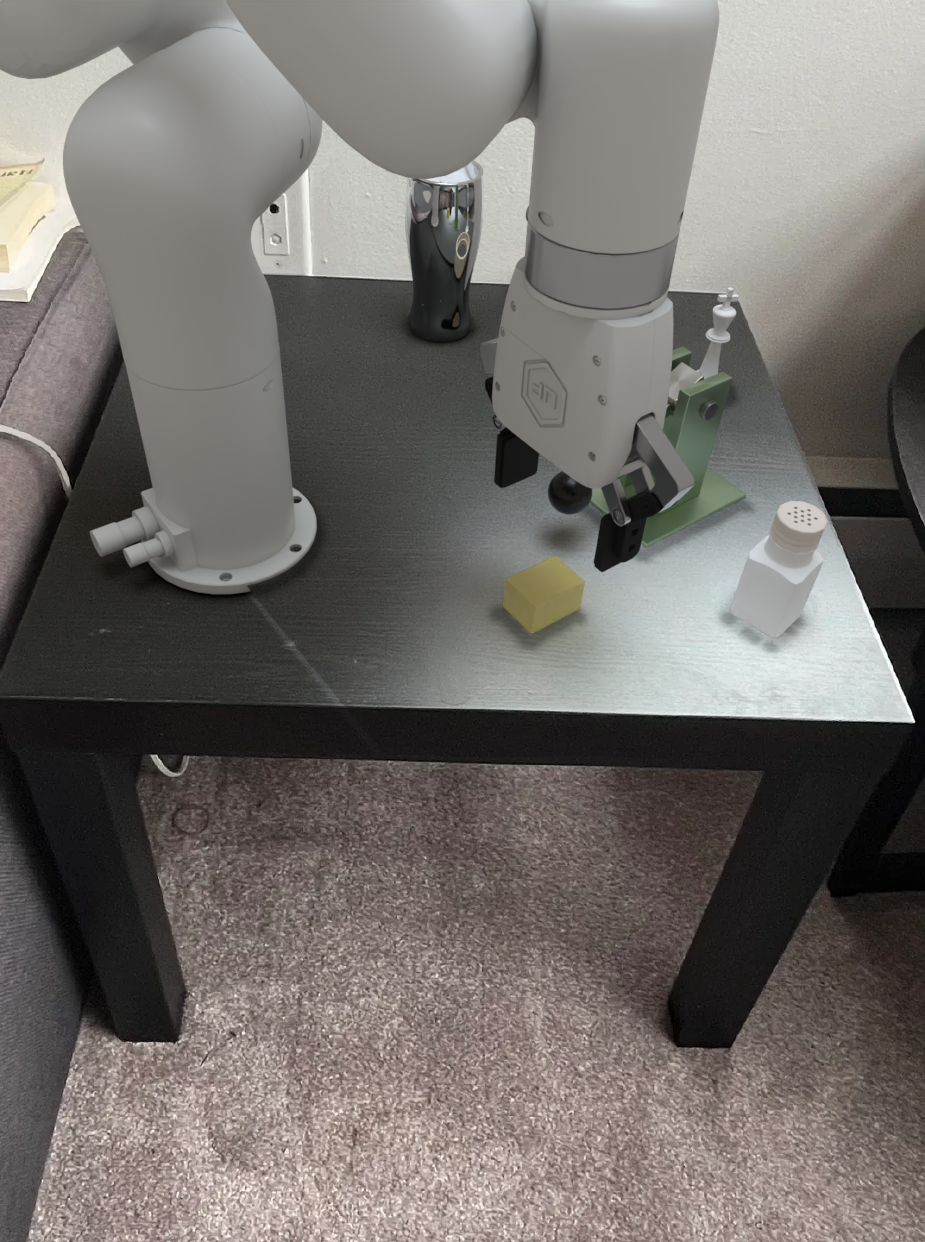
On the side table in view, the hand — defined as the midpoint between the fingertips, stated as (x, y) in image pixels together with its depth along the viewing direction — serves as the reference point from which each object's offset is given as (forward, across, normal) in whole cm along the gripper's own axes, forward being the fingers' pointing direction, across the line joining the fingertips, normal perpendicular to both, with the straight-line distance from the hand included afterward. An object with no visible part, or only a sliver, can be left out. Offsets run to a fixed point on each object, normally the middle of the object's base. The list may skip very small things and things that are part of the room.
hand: (563, 518), depth 62 cm
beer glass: (+9, -37, +17) cm, 41 cm away
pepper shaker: (+10, +8, +13) cm, 18 cm away
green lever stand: (+9, -6, +16) cm, 19 cm away
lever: (+3, -5, +11) cm, 13 cm away
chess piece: (+9, -15, +31) cm, 35 cm away
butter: (+9, -1, 0) cm, 9 cm away
